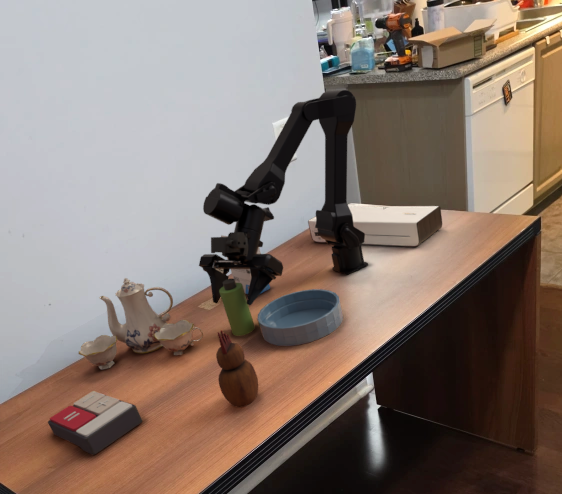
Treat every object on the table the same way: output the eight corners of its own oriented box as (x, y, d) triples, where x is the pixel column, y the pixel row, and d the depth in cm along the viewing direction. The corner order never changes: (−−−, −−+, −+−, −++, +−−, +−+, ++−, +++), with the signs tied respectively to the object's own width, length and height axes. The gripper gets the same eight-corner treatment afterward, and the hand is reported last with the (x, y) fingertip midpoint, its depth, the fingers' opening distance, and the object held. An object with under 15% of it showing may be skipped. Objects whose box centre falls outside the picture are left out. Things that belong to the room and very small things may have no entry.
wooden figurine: (247, 414, 112) (222, 338, 104) (221, 410, 115) (195, 336, 108) (268, 392, 116) (246, 318, 109) (242, 389, 120) (219, 316, 112)
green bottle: (249, 324, 143) (234, 274, 137) (259, 330, 139) (244, 279, 133) (229, 333, 142) (213, 283, 136) (238, 339, 138) (222, 288, 132)
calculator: (93, 388, 127) (134, 401, 116) (102, 406, 129) (143, 421, 118) (44, 418, 121) (83, 435, 110) (54, 437, 123) (93, 455, 112)
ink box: (271, 288, 158) (256, 230, 150) (256, 297, 156) (239, 238, 148) (251, 283, 164) (235, 227, 157) (235, 291, 162) (219, 235, 155)
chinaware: (82, 387, 140) (48, 323, 130) (96, 345, 153) (66, 284, 144) (207, 359, 137) (182, 291, 127) (210, 319, 151) (187, 254, 141)
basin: (315, 301, 145) (311, 282, 143) (360, 321, 131) (356, 301, 129) (249, 332, 140) (243, 313, 138) (288, 357, 126) (282, 336, 124)
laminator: (443, 229, 163) (440, 205, 160) (418, 249, 156) (414, 224, 153) (336, 226, 186) (331, 205, 182) (310, 244, 179) (305, 222, 175)
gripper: (190, 218, 137) (173, 290, 135) (260, 215, 126) (243, 292, 124) (223, 239, 146) (207, 306, 144) (291, 237, 135) (275, 310, 133)
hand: (231, 303), depth 136 cm, fingers open, 9 cm apart
